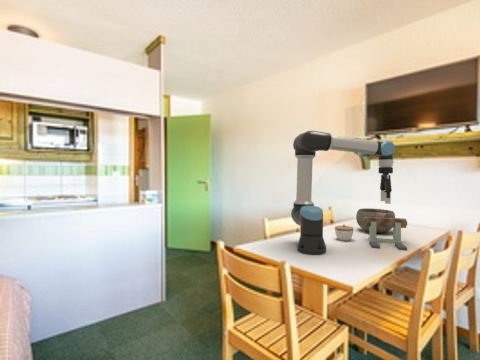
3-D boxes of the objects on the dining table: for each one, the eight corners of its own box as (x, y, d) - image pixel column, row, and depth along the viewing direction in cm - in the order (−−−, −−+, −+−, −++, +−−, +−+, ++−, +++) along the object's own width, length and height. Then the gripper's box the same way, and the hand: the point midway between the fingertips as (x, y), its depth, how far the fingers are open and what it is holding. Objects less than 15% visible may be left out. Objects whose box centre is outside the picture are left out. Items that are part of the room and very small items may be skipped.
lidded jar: (347, 243, 157) (347, 227, 157) (331, 239, 166) (331, 224, 165) (356, 239, 164) (356, 224, 164) (340, 236, 172) (340, 222, 172)
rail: (364, 225, 162) (364, 217, 162) (363, 224, 166) (363, 216, 165) (407, 228, 155) (407, 219, 155) (405, 226, 158) (406, 218, 158)
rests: (371, 247, 147) (371, 245, 147) (369, 243, 156) (369, 241, 155) (407, 250, 142) (407, 247, 142) (402, 246, 150) (402, 243, 150)
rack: (369, 241, 160) (369, 221, 160) (368, 238, 166) (368, 219, 166) (401, 243, 155) (402, 223, 155) (399, 241, 161) (399, 221, 160)
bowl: (394, 237, 169) (395, 214, 169) (353, 233, 182) (353, 211, 181) (395, 230, 190) (396, 209, 189) (358, 226, 202) (358, 207, 202)
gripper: (398, 166, 146) (397, 205, 147) (388, 167, 170) (387, 200, 170) (382, 166, 148) (382, 204, 149) (375, 167, 172) (374, 199, 173)
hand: (385, 202), depth 160 cm, fingers open, 13 cm apart
